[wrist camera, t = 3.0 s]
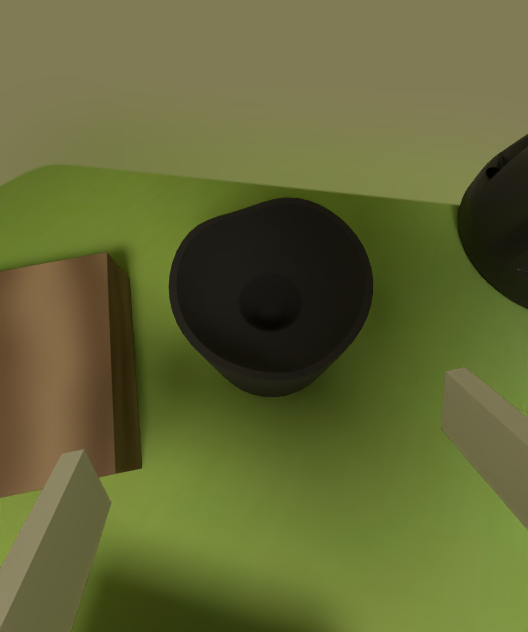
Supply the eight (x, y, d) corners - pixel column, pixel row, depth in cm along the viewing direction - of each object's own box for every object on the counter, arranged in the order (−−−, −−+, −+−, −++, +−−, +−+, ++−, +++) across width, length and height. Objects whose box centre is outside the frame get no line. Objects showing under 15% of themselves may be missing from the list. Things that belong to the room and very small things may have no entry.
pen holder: (312, 424, 23) (338, 412, 14) (186, 375, 25) (132, 333, 15) (350, 303, 26) (394, 225, 17) (236, 265, 27) (217, 173, 18)
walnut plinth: (129, 278, 27) (106, 252, 23) (141, 468, 22) (115, 473, 19) (-52, 311, 27) (-105, 290, 23) (-79, 513, 22) (-152, 528, 18)
